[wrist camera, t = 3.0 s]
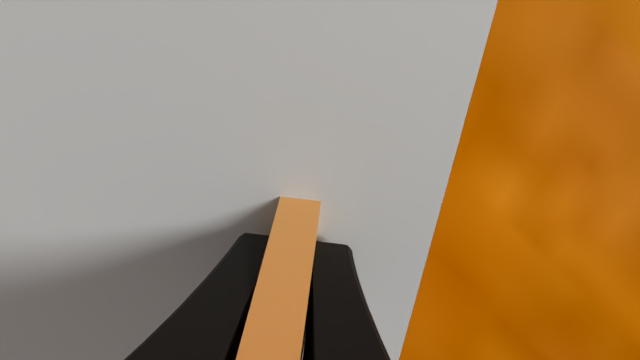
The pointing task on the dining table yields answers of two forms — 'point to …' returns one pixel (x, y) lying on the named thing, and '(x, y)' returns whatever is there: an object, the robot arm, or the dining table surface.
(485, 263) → the dining table surface
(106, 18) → the carton lid
